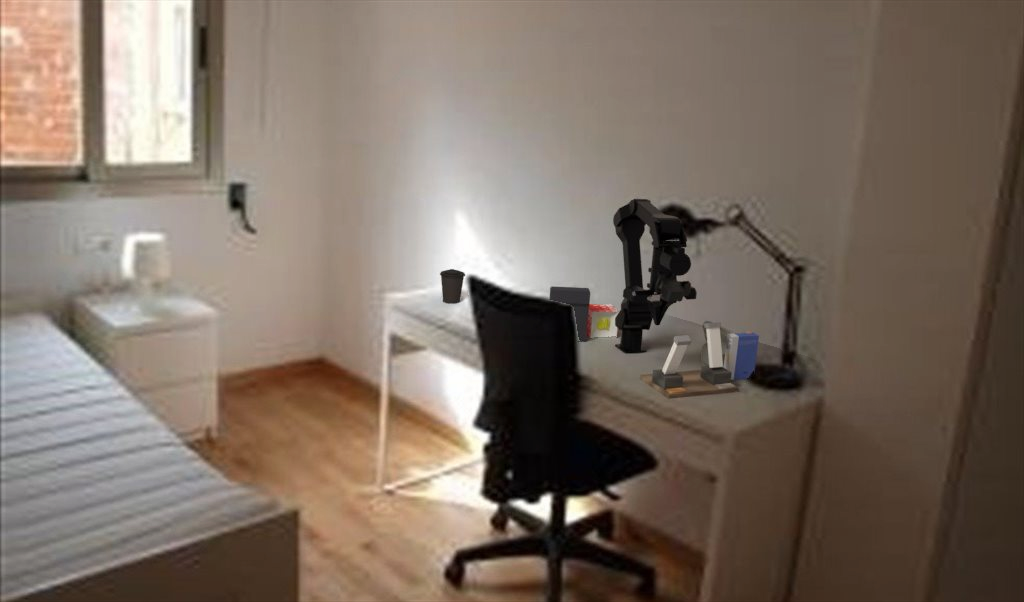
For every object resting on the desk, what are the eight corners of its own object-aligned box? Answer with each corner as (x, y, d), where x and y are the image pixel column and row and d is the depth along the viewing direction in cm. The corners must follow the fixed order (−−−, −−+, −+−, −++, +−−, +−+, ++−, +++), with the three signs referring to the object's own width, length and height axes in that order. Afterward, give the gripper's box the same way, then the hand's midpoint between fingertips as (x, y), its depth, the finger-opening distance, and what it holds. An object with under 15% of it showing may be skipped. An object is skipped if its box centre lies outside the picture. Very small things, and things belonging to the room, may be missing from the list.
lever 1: (660, 369, 234) (674, 336, 227) (673, 368, 235) (687, 335, 228) (663, 375, 232) (678, 341, 225) (676, 374, 234) (691, 340, 227)
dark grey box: (584, 337, 272) (588, 287, 268) (586, 342, 268) (590, 291, 264) (546, 336, 272) (550, 285, 268) (547, 340, 267) (551, 289, 263)
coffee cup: (454, 296, 307) (455, 266, 305) (469, 302, 301) (470, 272, 299) (433, 299, 302) (434, 269, 299) (448, 306, 296) (449, 275, 294)
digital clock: (749, 375, 249) (754, 336, 246) (717, 376, 247) (722, 337, 244) (724, 355, 264) (728, 318, 261) (693, 355, 262) (698, 318, 259)
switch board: (640, 378, 241) (641, 363, 240) (707, 372, 248) (709, 358, 247) (668, 398, 229) (669, 382, 228) (738, 391, 236) (740, 376, 235)
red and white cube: (590, 338, 272) (592, 311, 270) (582, 330, 280) (584, 304, 278) (616, 338, 274) (619, 311, 272) (608, 330, 281) (611, 304, 279)
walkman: (747, 374, 249) (753, 331, 246) (753, 378, 246) (759, 334, 243) (721, 376, 246) (726, 332, 243) (726, 380, 244) (732, 335, 241)
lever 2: (707, 367, 240) (704, 323, 240) (720, 366, 241) (716, 322, 241) (712, 367, 238) (708, 322, 238) (724, 366, 239) (720, 322, 240)
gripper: (646, 275, 231) (640, 336, 235) (711, 272, 238) (704, 332, 242) (624, 264, 241) (619, 323, 245) (687, 262, 248) (681, 319, 252)
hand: (657, 324), depth 246 cm, fingers closed
